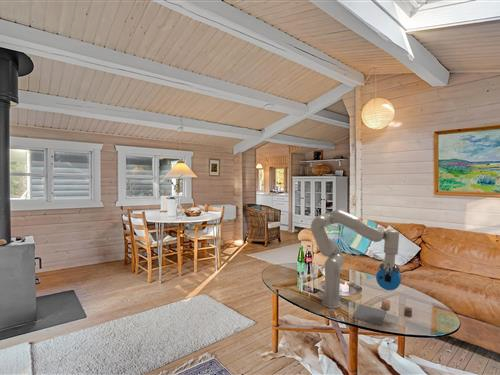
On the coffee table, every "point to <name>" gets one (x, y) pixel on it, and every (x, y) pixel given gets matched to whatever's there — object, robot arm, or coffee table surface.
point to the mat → (369, 314)
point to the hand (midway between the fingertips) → (388, 279)
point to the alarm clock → (394, 278)
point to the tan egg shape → (385, 304)
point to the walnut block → (408, 311)
